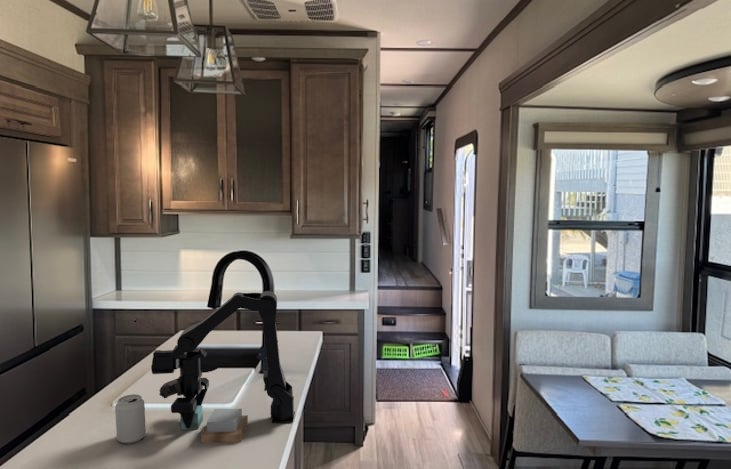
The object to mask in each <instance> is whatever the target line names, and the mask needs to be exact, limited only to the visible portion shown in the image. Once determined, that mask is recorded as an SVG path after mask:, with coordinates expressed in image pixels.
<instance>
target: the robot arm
mask: <svg viewBox="0 0 731 469" xmlns="http://www.w3.org/2000/svg"><path fill="white" fill-rule="evenodd" d="M277 307H278V297H277V295H276V294H275V292H272V291H271V290H265V291H263V292H235V293H234V294H233V295H232V296H231V297H230V298H229V299H228V300H226V301H225V302H224V303H223V304H221V306H219V307H218V308H216V310H214V311H213V312H212V313H210V314H209V315H208V316H206V317H205V318H204V319H203V320H200V322H196V323H195V324H193V325H191V326H189V327H187V328H185V329H184V330H183V331H182V332H181V334H179V337H178V338H177V341H176V342H177V343H176V344H177V345H175V346H174V348H173V349H170V350H169V349H166V350H161V349H160V350H158V349H156V350H154V352H153V354H152V355H153V356H152V362H151V365H150V366H151V368H150V369H151V370H150V371H151V374H152V375H163V374H164V375H167V374H174V373H175V372H176V370H178V369H179V377H177V378H174V379H173V380H170V381H167V382H165V383H163V384H162V385H161V386H160V387H159V394H158V395H159V396H160V397H162V398H163V399H168V398H169V397H170V396H171V397H172V396H174V395H176V396H177V398H176V399H175V400H174V401H173V402H172V404H171V405H170V412H171V413H172V414H179V415H180V418H181V417H182V419H183V421H184V424H185V426H186V428H190V427H191V424H192V421H193V418H194V415H195V412H196V409H197V406H203V402H204V399H205V397H206V395H207V392H208V389H209V388H210V387H209V386H210V380H209V378H207V377H202V376H203V371H201V359H205V358H206V356H207V351H205V349H203V348H202V347H199V346H200V344H202V342H203V341H204V340H205V338H206V337H207V336H208V335H209V334H210V332H212V331H213V330H215V329H216V327H218V326H219V325H220V324H222V323H223V322H224V321H225V320H227V319H228V318H230V316H232V315H233V314H234V313H235V312H237V311H238V310H239V309H242V310H243V309H244V310H248V311H253V312H254V311H255V312H258V314H259V318H260V321H261V322H262V325H263V332H264V340H265V341H264V342H265V351H266V352H265V353H266V360H267V370H263V376H262V380H263V383H264V387H263V388H264V389H263V391H264V392H266V395H267V397H270V398H271V399H272V402H271V403H270V419H271V423H273V424H275V423H276V424H279V423H281V424H282V423H294V420H295V414H296V412H295V401H294V400H295V399H294V398H295V396H294V395H293V386H292V385H291V384H290V383H289V382H288V381H287V380H286V377H285V374H284V373H285V372H284V370H283V368H282V365H281V360H280V351H279V350H280V349H279V340H278V330H277V323H276V322H277V320H276V319H277V309H278V308H277ZM198 347H199V348H198ZM197 348H198V349H197ZM196 349H197V350H196ZM178 396H180V397H178ZM182 396H183V397H182Z"/></svg>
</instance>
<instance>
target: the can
mask: <svg viewBox="0 0 731 469" xmlns="http://www.w3.org/2000/svg"><path fill="white" fill-rule="evenodd" d="M116 402H117V403H116V404H115V406H114V409H115V410H114V412H115V425H116V426H115V427H116V440H117V441H119V442H120V443H121V444H125V445H128V444H134V443H137V442H140V441H141V440H142V439H143V438H144V437H145V436H146V433H147V430H146V428H147V427H146V409H145V406H146V405H145V400H144V399H143V398H142V395H140V394H138V393H137V394H136V393H135V394H133V393H132V394H126V395H124V396H120V398H118V399H117V401H116Z"/></svg>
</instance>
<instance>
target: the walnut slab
mask: <svg viewBox="0 0 731 469" xmlns="http://www.w3.org/2000/svg"><path fill="white" fill-rule="evenodd" d="M248 424H249V417H248V415H247V414H245V415H243V414H242V419H241V421H240V423H239V426H238V428H237V430H236V432H207V424H205V426H204V429H203V430H202V432H201V434H200V442H201V444H203V443H204V444H209V443H212V444H214V443H220V444H221V443H241V442H242V440H243V437H244V434H245V432H246V429H247V427H248Z"/></svg>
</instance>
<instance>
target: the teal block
mask: <svg viewBox="0 0 731 469" xmlns="http://www.w3.org/2000/svg"><path fill="white" fill-rule="evenodd" d="M203 413H204V412H203V405H201V406H197V409H196V412H195V415H194V418H193V421H192V424H191V427H190V428H186V426H185V424H184V421H183V419H182V417H181V416H180V429H181V430H199V428H200V427H201V425H202V424H203V420H204V419H203V418H204V416H203V415H204V414H203Z"/></svg>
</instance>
